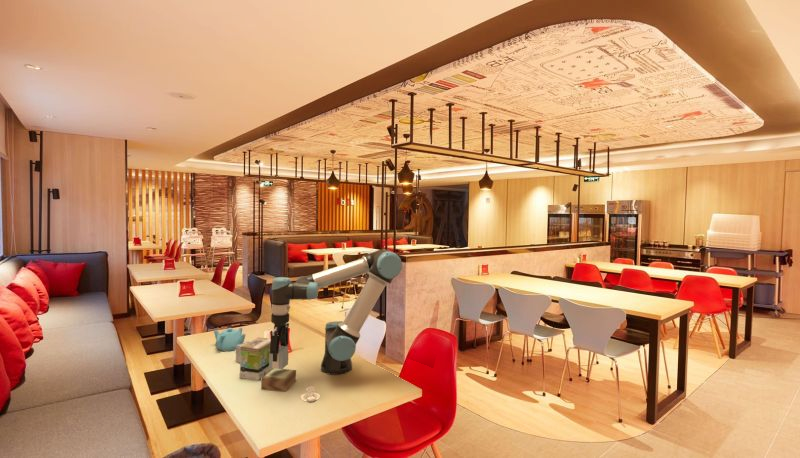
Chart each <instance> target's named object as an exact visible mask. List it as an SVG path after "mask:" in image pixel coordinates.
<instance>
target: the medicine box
mask: <svg viewBox="0 0 800 458" xmlns="http://www.w3.org/2000/svg"><path fill="white" fill-rule="evenodd" d="M249 342H251V341H246V342H243V343H242V344H239V345H236V350H235V362H236V363H239V364H240V360H241V346H243V345H245V344H247V343H249Z"/></svg>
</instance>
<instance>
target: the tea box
mask: <svg viewBox="0 0 800 458" xmlns="http://www.w3.org/2000/svg"><path fill="white" fill-rule="evenodd" d="M270 341H271V338H266V337H261V336H260V337H257V338H254V339H252V340H251V341H250V342H249V341H248V342H249V343H247V344H245V345H243V346H241V360H240V363H239V364H240V365H239V378H240V379H245V380H246V379H247V380H254V381H259V380H261V378H262V377H263V376H264V375H265V374H267V373H268V372H269V371H270V370H271V369H273V368H269V352H270Z"/></svg>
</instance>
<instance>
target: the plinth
mask: <svg viewBox="0 0 800 458" xmlns="http://www.w3.org/2000/svg"><path fill="white" fill-rule="evenodd" d="M260 380H261V382H260V384H261V385H260V388H261V390H264V391H265V390H266V391H276V392H287V391H288V390H289V389H290V388H291V387H292V385H294V384H295V383H296V381H297V369H288V368H287V369H286V368H283V369H275V368H273V369H271V370H270V371H269V372H268V373H267V374H265V375H264V376H263V377H262V378H260Z"/></svg>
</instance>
